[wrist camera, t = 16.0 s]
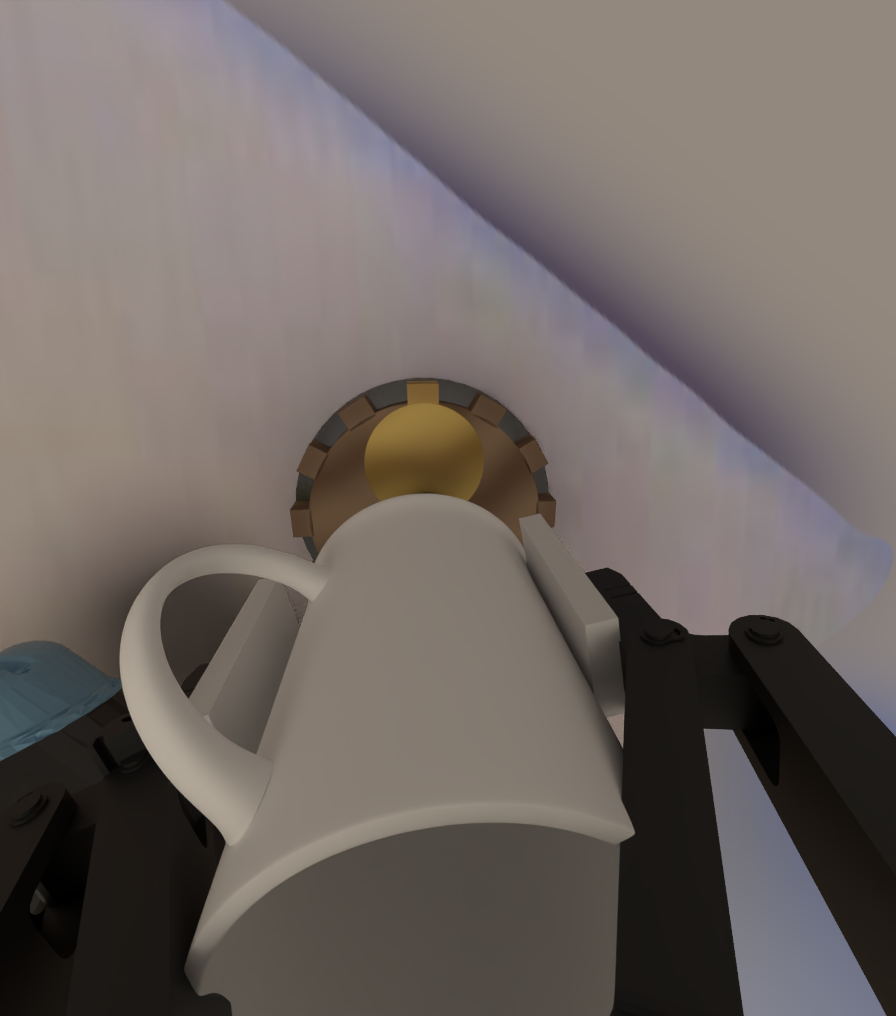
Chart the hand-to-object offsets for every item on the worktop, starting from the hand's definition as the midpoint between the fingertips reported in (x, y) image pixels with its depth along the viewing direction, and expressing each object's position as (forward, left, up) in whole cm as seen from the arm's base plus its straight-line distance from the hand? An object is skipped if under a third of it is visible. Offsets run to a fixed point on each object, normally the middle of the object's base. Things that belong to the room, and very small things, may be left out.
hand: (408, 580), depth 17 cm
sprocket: (0, -4, -18) cm, 19 cm away
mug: (-1, 0, -1) cm, 1 cm away
